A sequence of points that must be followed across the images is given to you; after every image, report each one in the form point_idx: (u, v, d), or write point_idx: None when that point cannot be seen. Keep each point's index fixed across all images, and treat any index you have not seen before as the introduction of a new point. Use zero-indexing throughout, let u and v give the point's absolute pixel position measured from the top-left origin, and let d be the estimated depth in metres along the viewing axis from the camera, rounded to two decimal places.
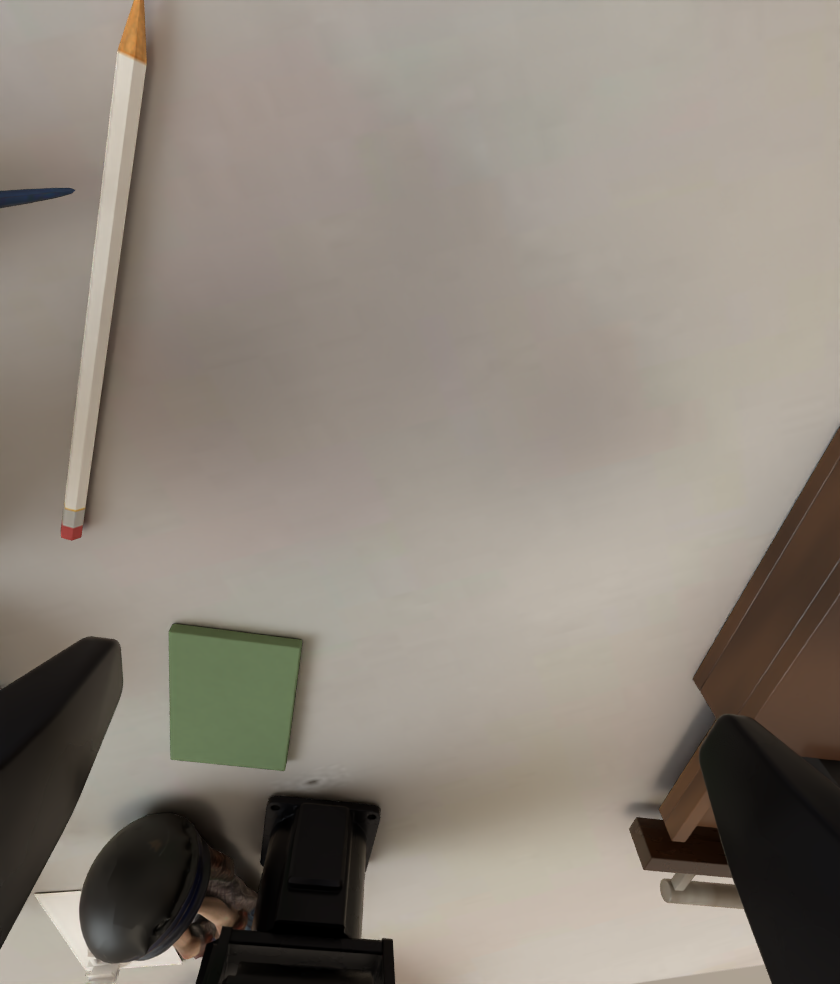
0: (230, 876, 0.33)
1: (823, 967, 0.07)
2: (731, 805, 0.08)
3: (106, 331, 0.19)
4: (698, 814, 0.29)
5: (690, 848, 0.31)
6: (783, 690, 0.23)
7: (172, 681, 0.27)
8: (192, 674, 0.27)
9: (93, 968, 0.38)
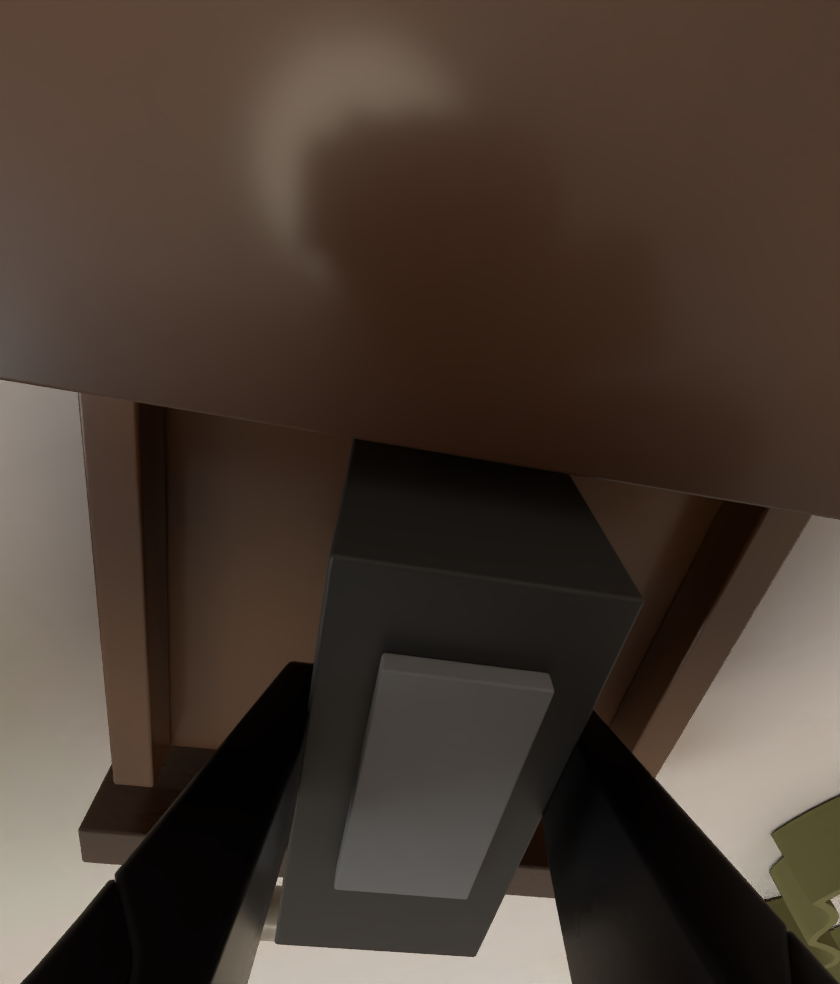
0: None
1: (603, 952, 0.06)
2: None
3: None
4: (129, 702, 0.10)
5: None
6: None
7: None
8: None
9: None
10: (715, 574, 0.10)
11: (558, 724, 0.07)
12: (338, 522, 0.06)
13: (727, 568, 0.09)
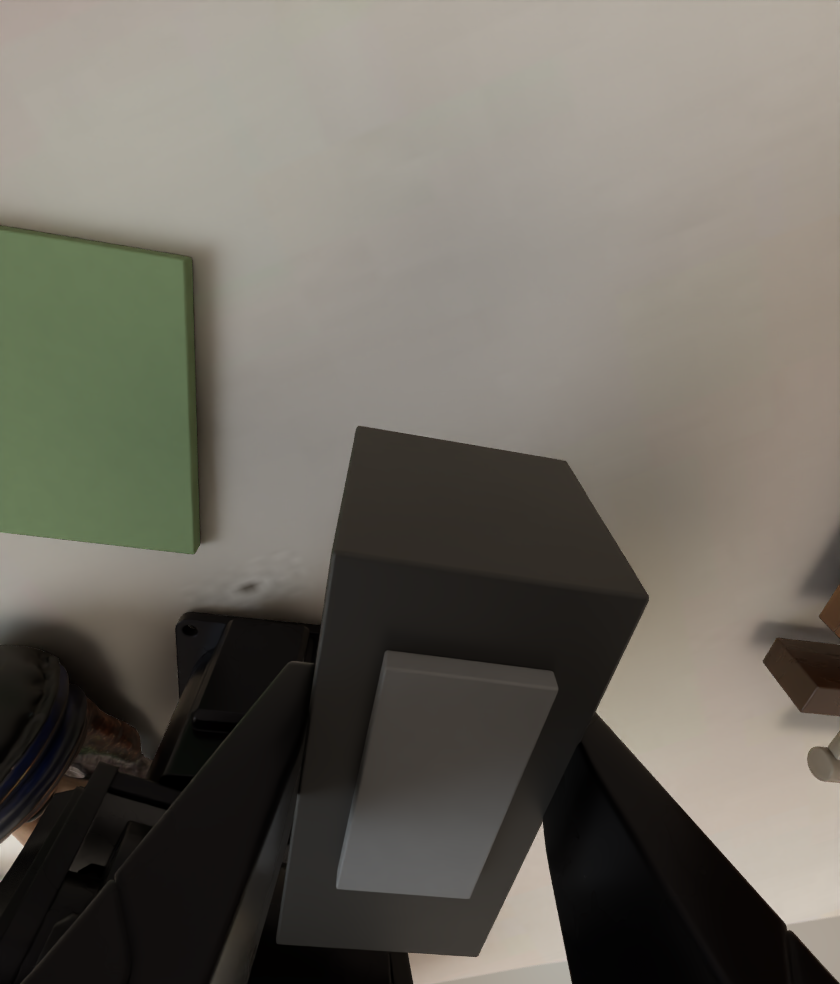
0: (131, 752, 0.21)
1: (603, 952, 0.06)
2: None
3: None
4: None
5: None
6: None
7: None
8: None
9: None
10: None
11: (562, 722, 0.07)
12: (340, 518, 0.06)
13: None
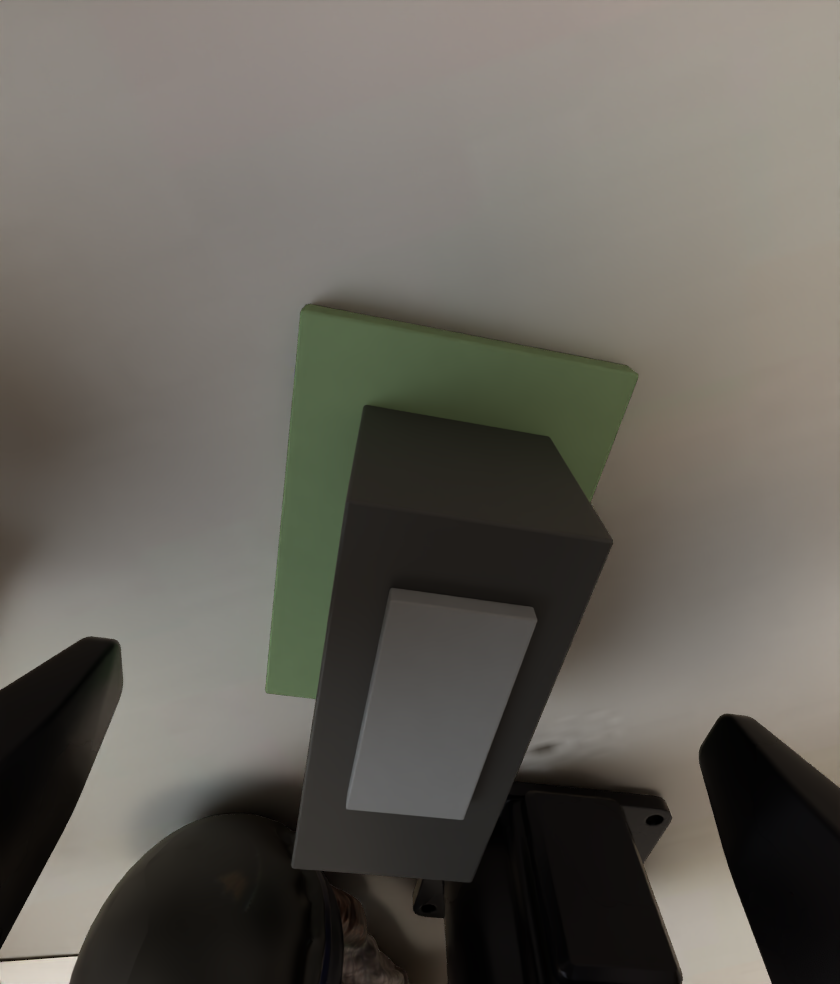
0: (362, 937, 0.17)
1: (823, 967, 0.07)
2: (731, 805, 0.08)
3: None
4: None
5: None
6: None
7: (292, 479, 0.11)
8: (347, 455, 0.10)
9: None
10: None
11: (542, 654, 0.08)
12: (352, 476, 0.07)
13: None
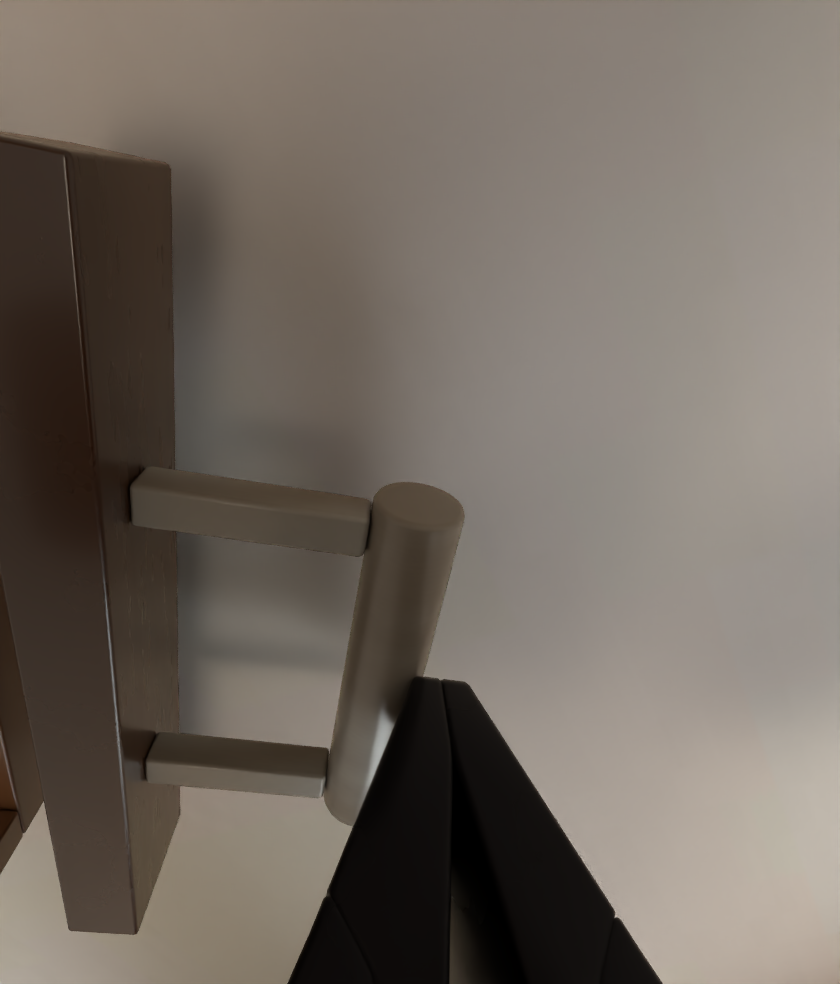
0: None
1: (452, 942, 0.06)
2: None
3: None
4: None
5: None
6: None
7: None
8: None
9: None
10: None
11: None
12: None
13: None
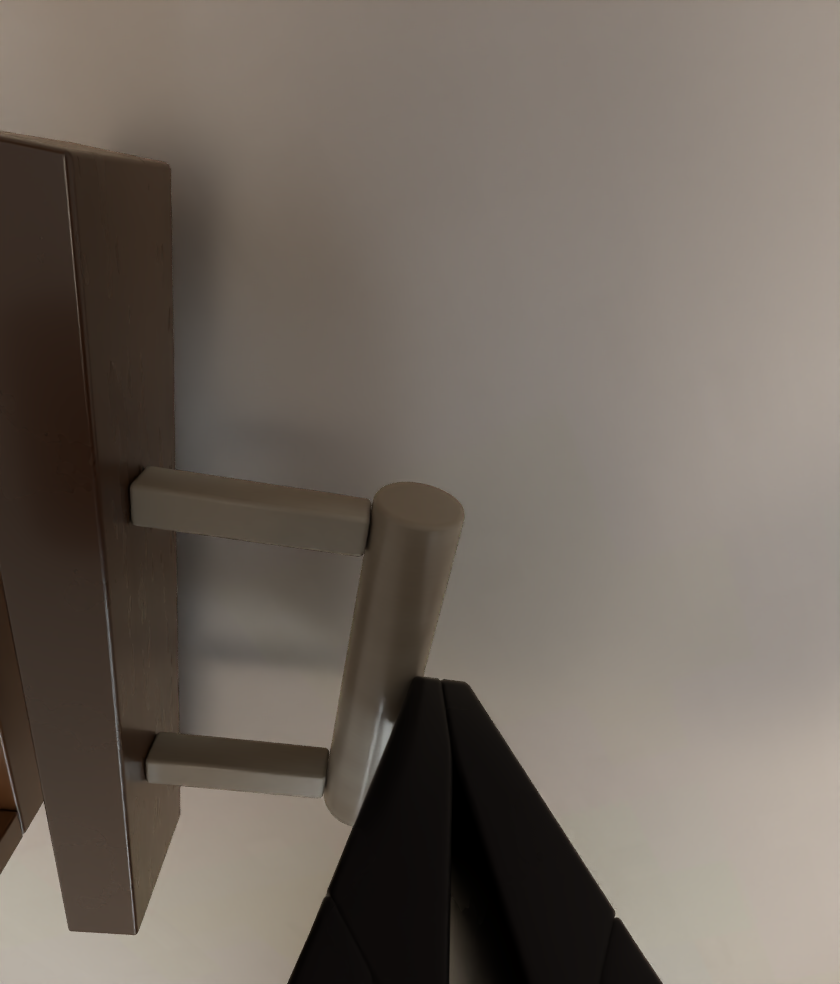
0: None
1: (452, 942, 0.06)
2: None
3: None
4: None
5: None
6: None
7: None
8: None
9: None
10: None
11: None
12: None
13: None
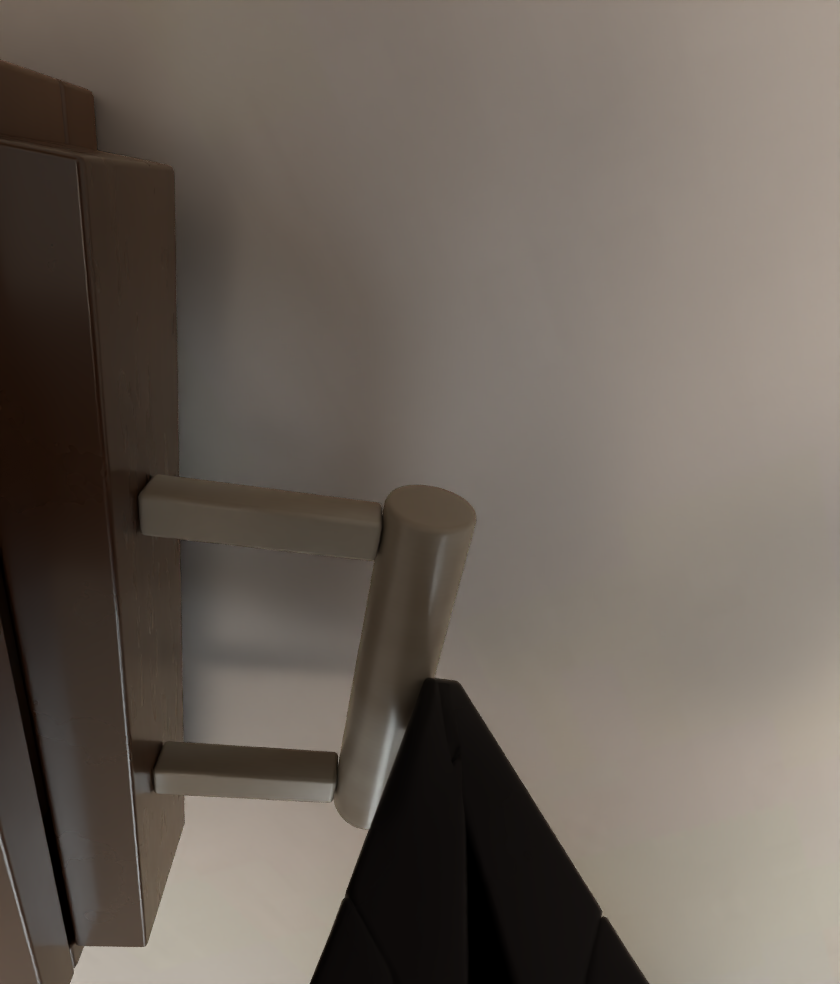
0: None
1: None
2: None
3: None
4: None
5: None
6: None
7: None
8: None
9: None
10: None
11: None
12: None
13: None
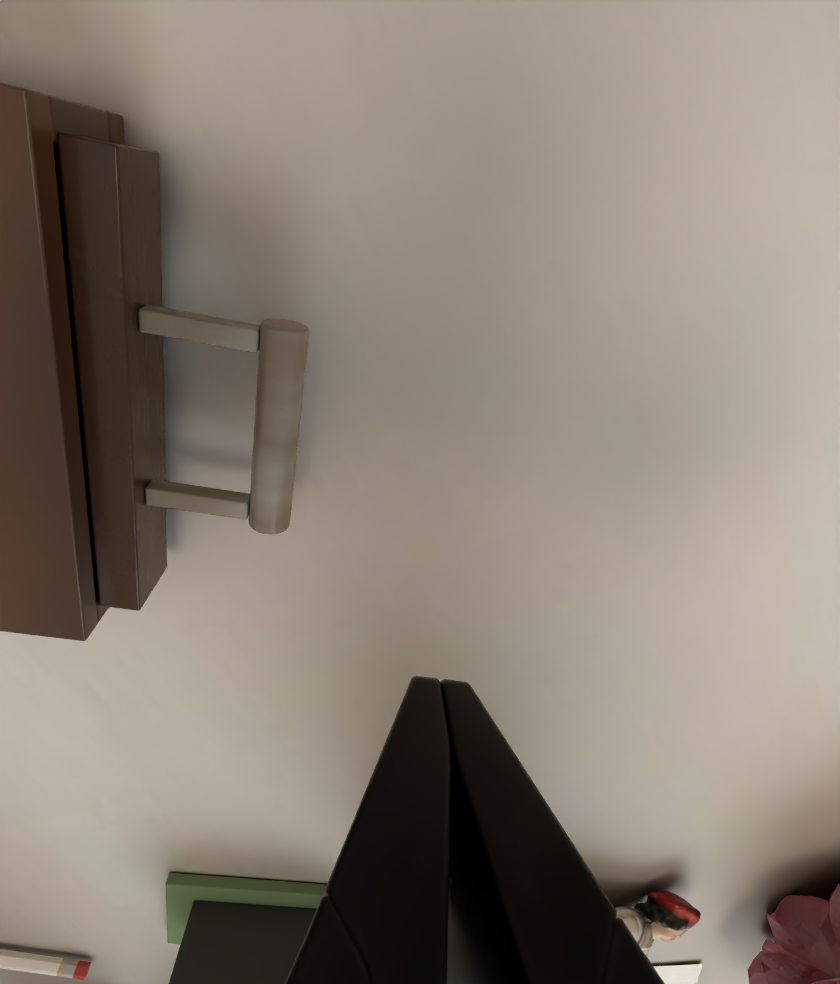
0: None
1: (454, 942, 0.06)
2: None
3: None
4: None
5: None
6: None
7: None
8: None
9: None
10: None
11: None
12: None
13: None
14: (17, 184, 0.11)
